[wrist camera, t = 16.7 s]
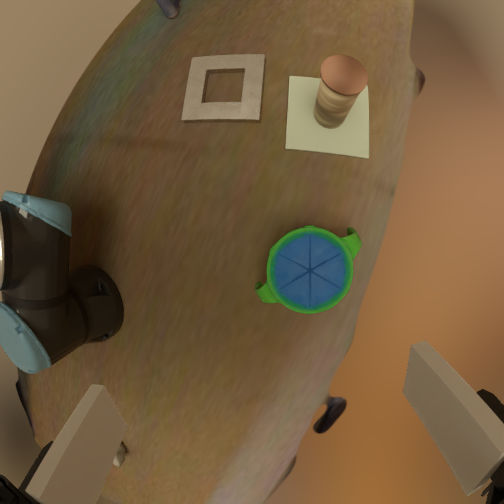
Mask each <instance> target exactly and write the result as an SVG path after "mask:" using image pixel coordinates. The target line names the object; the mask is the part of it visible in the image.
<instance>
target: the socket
mask: <svg viewBox="0 0 504 504" xmlns="http://www.w3.org/2000/svg"><path fill="white" fill-rule="evenodd" d="M265 60H266V58H265V54H243V55H218V56H204V57H194V58H192V62H191V67H190V72H189V78H188V83H187V89H186V95H185V101H184V107H183V114H182V121H183V122H184V123H195V122H253V123H260V119H261V107H262V96H263V84H264V72H265ZM233 72H245V75H244V83H243V93H242V102H212V103H204V101H205V94H206V88H207V81H208V75H209V74H210V73H233Z"/></svg>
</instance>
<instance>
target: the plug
mask: <svg viewBox="0 0 504 504" xmlns="http://www.w3.org/2000/svg"><path fill="white" fill-rule="evenodd" d="M320 75H321V79H320V84H319V88H318V93H317V98H316V102H315V107H314V118H315V120H316V121H317V123H318V124H319V125H321V126H322V127H324V128H328V129H334V128H338V127H339V126H341V125H342V124H343V122H344V120H345V119H346V117H347V115H348V113H349V111H350V110H351V108H352V106H353V104H354V103H355V101H356V99H357V97H358V96H359V94H360V92H362V91H363V90H364V88H365V87H366V85H367V82H368V74H367V71H366V69H365V68H364V66H363V65H362V64H361V63H360V62H359V61H357V60H356V59H354V58H352V57H350V56H346V55H333V56H330V57H328V58H327V59H325V61H324V62H323V63H322V66H321V70H320Z"/></svg>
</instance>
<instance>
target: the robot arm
mask: <svg viewBox="0 0 504 504" xmlns="http://www.w3.org/2000/svg"><path fill="white" fill-rule="evenodd" d="M2 200H3V201H0V291H2V302H0V344H1V346H2V348H3V350H4V351H5V353H6V354H7V356H8V357H9V358H10V359H11V361H12V362H13V363H14V364H15V365H16V366H17V367H18V368H20V369H21V370H23V371H24V372H27V373H30V374H34V373H37V372H39V371H41V370H43V369H45V368H49V367H50V366H51V365H53V364H54V363H56V362H57V361H59V360H60V359H62V358H63V357H65V356H66V355H68V354H69V353H71V352H72V351H74V350H75V349H77V348H78V347H79V346H81V345H83V344H86V343H95V342H102V341H105V340H108V339H109V338H111V337H112V336H114V335H115V334H116V333H117V332H118V331H119V329H120V327H121V325H122V321H123V304H122V299H121V296H120V294H119V291H118V289H117V287H116V285H115V284H114V282H113V281H112V279H111V278H110V277H109V276H108V275H107V274H106V273H105V272H104V271H102V270H101V269H99V268H97V267H94V266H83V267H79V268H76V269H74V270H72V271H71V272H70V273H69V274H68V271H69V249H70V237H72V233H71V222H72V212H71V209H70V208H69V206H68V205H66V204H64V203H61V202H57V201H53V200H48V199H44V198H40V197H35V196H31V195H26V194H22V193H17V192H12V191H5V192H4V195H3V196H2ZM403 394H404V395H405V397H406V398H407V400H408V401H409V403H410V404H411V406H412V407H413V409H414V410H415V412H416V413H417V415H418V416H419V418H420V419H421V421H422V423H423V424H424V426H425V427H426V429H427V431H428V432H429V434H430V435H431V437H432V439H433V440H434V442H435V443H436V445H437V447H438V448H439V450H440V452H441V453H442V455H443V456H444V458H445V460H446V461H447V463H448V465H449V466H450V468H451V470H452V471H453V473H454V475H455V477H456V478H457V480H458V482H459V483H460V485H461V487H462V489H463V491H464V492H465V494H466V496H468V495H469V494H471V493H473V492H474V491H476V490H477V489H479V488H480V487H481V486H483V485H484V484H485V483H486V482H487V480H488V479H489V478H491V480H492V482H491V483H490V485H489V486H488V487H487V488H486V489H485V490H484V491H483V493H482V495H481V496H484V495H485V494H486V493H487V492H488V491H489V493H488V495H487V496H488V497H487V501H486V504H504V405H503V404H501V402H500V401H499V400H498V398H497V397H496V396H495V395H494V394H492V393H490V392H488V391H486V390H484V389H482V390H480V391H478V392H475V391H474V390H473V389H472V388H471V387H470V386H469V385H468V383H467V382H466V381H465V380H464V379H463V378H462V377H461V376H460V375H459V374H458V373H457V372H456V371H455V370H454V369H453V368H452V367H451V366H450V365H449V364H448V363H447V362H446V360H445V359H444V358H443V357H442V356H441V355H440V354H439V353H438V352H436V350H434V348H433V347H432V346H431V345H429V343H427V341H422V342H419V343H416V344H413V345H411V348H410V355H409V362H408V367H407V373H406V378H405V383H404V388H403ZM127 428H128V426H127V424H126V423H125V421H124V419H123V418H122V416H121V414H120V412H119V411H118V409H117V407H116V405H115V404H114V402H113V400H112V398H111V396H110V394H109V393H108V391H107V389H106V387H105V385H93V384H92V385H91V386H90V388H89V389H88V390H87V392H86V393H85V395H84V396H83V398H82V399H81V401H80V402H79V404H78V405H77V407H76V408H75V410H74V411H73V413H72V414H71V416H70V417H69V419H68V420H67V422H66V424H65V425H64V427H63V428H62V430H61V431H60V433H59V434H58V436H57V438H56V439H55V441H54V442H53V441H51V442H50V443H48V444H47V445H46V446H45V447H44V448H43V449H42V451H41V452H40V454H39V455H38V458H37V459H36V460H35V462H34V464H33V465H32V467H31V469H30V470H29V472H28V474H27V475H26V477H25V479H24V481H23V482H22V484H21V486H20V487H19V488H18V489H17V488H16V487H15V486H14V485H13V484H12V483H11V482H10V481H9V480H8V479H7V478H6V477H5V476H3V475H0V504H96V503H97V501H98V498H99V496H100V493H101V490H102V488H103V485H104V483H105V480H106V478H107V475H108V473H109V470H110V468H111V466H112V463H113V461H114V458H115V456H116V453H117V451H118V449H119V446H120V444H121V442H122V439H123V437H124V435H125V432H126V430H127Z"/></svg>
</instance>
